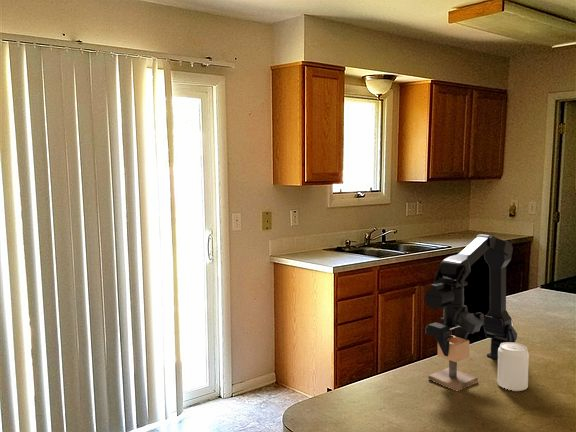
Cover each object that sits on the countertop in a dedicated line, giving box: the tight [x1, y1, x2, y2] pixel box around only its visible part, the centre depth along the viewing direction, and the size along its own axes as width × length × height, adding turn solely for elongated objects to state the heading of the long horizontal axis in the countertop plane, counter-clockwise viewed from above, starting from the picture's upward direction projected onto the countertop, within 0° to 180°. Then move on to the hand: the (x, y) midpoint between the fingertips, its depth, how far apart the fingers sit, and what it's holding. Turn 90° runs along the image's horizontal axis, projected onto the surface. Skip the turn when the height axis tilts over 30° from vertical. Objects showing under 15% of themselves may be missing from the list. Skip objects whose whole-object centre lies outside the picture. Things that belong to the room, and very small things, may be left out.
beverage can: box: [497, 342, 530, 392], centre depth 149 cm, size 8×8×12 cm
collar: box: [437, 334, 470, 363], centre depth 153 cm, size 6×6×5 cm
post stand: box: [428, 360, 479, 391], centre depth 154 cm, size 10×10×6 cm
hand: (453, 353), depth 153 cm, fingers closed on collar, 6 cm apart
